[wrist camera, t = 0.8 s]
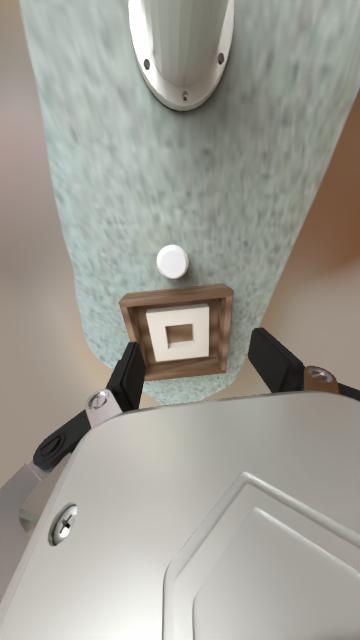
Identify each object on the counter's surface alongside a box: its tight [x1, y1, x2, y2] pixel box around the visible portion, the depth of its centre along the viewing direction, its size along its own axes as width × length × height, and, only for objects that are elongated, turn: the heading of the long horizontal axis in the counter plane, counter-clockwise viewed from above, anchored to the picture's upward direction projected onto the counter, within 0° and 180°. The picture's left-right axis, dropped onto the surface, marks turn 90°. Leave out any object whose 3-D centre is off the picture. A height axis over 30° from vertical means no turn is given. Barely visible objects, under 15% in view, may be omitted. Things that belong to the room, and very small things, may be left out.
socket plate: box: [146, 303, 209, 362], centre depth 35 cm, size 14×14×2 cm
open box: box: [119, 284, 233, 381], centre depth 35 cm, size 22×22×6 cm
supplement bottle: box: [157, 245, 189, 279], centre depth 25 cm, size 5×5×10 cm
